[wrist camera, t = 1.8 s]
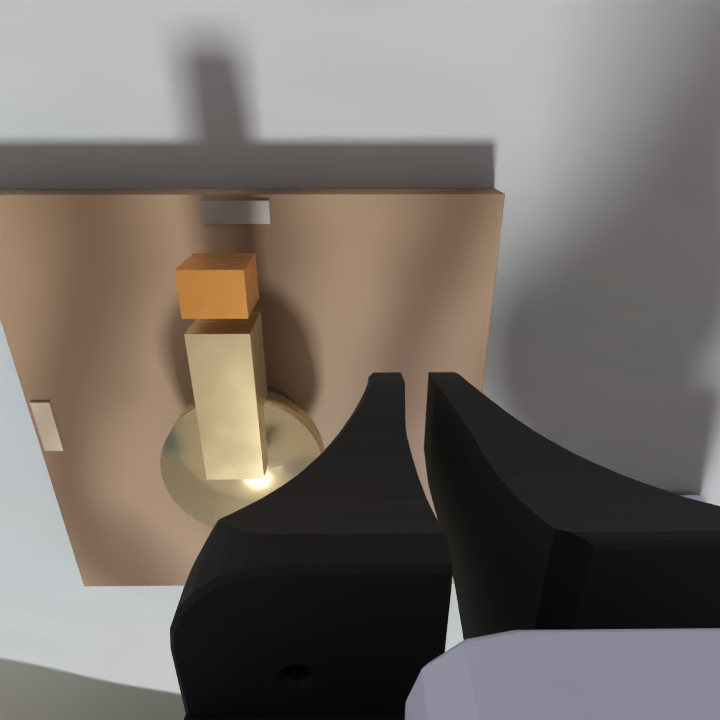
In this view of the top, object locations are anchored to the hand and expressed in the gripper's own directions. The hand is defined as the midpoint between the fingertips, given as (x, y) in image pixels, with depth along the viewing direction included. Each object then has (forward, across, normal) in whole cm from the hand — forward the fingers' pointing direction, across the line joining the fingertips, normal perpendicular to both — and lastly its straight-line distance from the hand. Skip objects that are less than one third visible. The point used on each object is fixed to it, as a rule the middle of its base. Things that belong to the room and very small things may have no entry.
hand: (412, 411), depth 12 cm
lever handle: (+7, +5, +4) cm, 9 cm away
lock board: (+10, +6, +6) cm, 13 cm away
